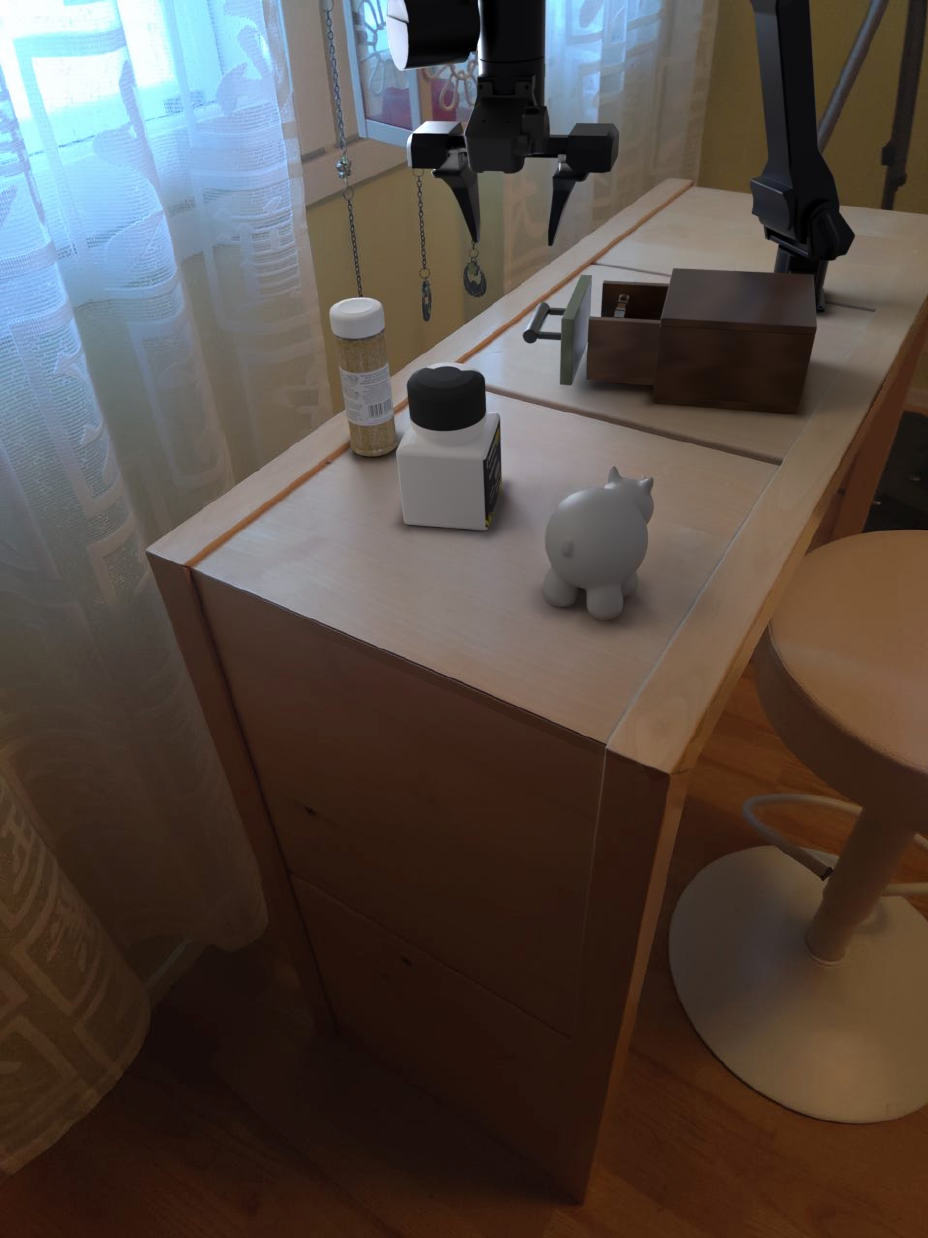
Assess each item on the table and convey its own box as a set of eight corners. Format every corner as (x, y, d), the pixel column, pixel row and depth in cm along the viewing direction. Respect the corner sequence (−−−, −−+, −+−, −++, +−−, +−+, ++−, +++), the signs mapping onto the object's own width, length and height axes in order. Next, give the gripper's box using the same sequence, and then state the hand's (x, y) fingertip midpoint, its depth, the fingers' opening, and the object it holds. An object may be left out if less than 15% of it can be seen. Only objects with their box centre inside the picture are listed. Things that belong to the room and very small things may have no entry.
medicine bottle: (487, 532, 72) (482, 398, 64) (403, 526, 73) (387, 393, 65) (502, 484, 77) (499, 354, 69) (423, 479, 79) (411, 351, 71)
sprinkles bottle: (390, 430, 85) (374, 291, 77) (404, 452, 82) (389, 310, 73) (344, 440, 84) (322, 301, 76) (357, 463, 81) (335, 320, 72)
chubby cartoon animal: (684, 549, 69) (698, 454, 64) (613, 638, 62) (622, 539, 56) (602, 522, 72) (608, 429, 67) (525, 603, 65) (525, 507, 60)
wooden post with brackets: (628, 330, 94) (634, 289, 90) (619, 369, 88) (625, 327, 85) (611, 328, 94) (616, 287, 91) (601, 367, 89) (606, 325, 85)
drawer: (518, 381, 90) (517, 316, 85) (540, 334, 98) (540, 272, 93) (687, 394, 86) (695, 326, 82) (695, 344, 94) (703, 280, 90)
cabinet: (652, 403, 87) (661, 317, 81) (664, 347, 96) (672, 267, 90) (797, 414, 84) (817, 326, 78) (796, 356, 93) (813, 273, 87)
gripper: (378, 75, 72) (397, 268, 83) (607, 75, 68) (596, 278, 79) (418, 50, 80) (431, 229, 91) (625, 48, 76) (613, 236, 87)
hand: (513, 243), depth 86 cm, fingers open, 7 cm apart
